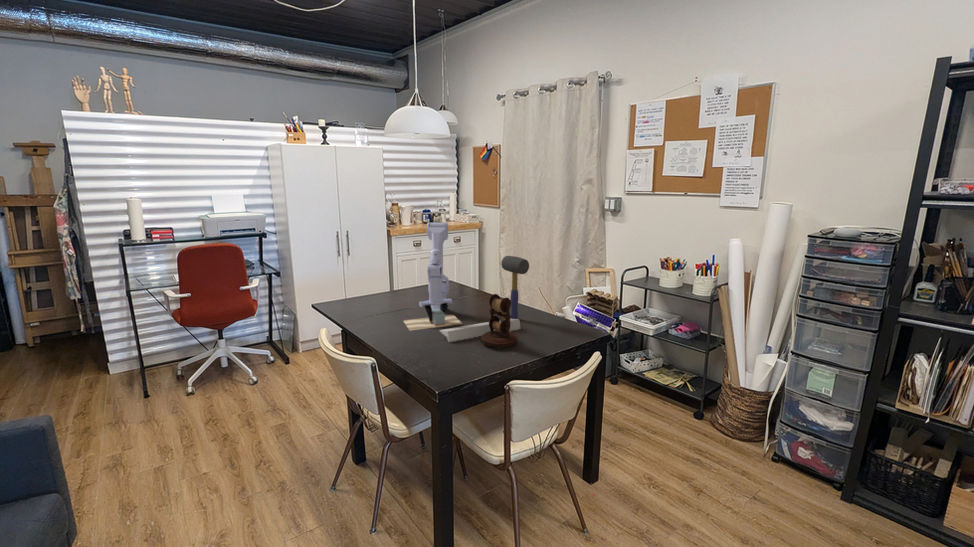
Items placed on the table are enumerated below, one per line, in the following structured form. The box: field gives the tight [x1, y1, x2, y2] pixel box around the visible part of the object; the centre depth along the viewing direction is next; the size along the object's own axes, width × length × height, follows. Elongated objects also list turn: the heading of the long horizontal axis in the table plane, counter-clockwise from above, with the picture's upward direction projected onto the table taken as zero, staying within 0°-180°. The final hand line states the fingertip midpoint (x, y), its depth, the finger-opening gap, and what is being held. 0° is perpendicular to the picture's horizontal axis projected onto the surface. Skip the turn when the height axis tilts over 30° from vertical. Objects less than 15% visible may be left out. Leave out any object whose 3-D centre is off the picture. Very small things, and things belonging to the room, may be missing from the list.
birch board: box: [402, 314, 463, 332], centre depth 205 cm, size 14×24×2 cm, turn 111°
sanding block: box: [432, 309, 446, 325], centre depth 204 cm, size 8×4×5 cm, turn 27°
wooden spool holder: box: [480, 293, 519, 350], centre depth 183 cm, size 15×15×20 cm
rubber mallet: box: [500, 255, 530, 319], centre depth 210 cm, size 12×8×30 cm, turn 41°
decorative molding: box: [438, 318, 521, 343], centre depth 197 cm, size 34×5×10 cm
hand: (436, 320), depth 205 cm, fingers closed on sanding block, 5 cm apart
